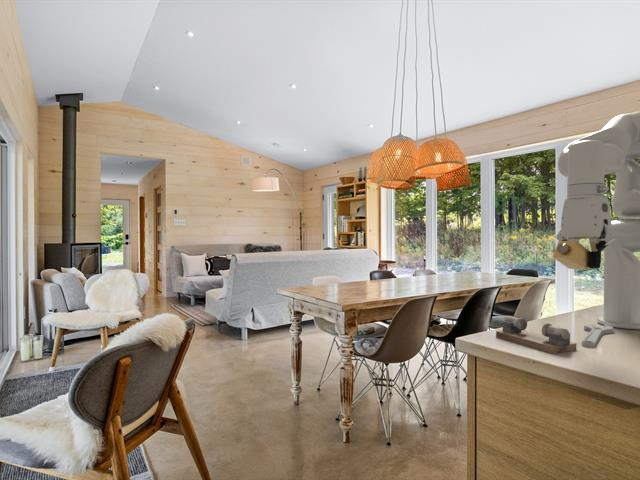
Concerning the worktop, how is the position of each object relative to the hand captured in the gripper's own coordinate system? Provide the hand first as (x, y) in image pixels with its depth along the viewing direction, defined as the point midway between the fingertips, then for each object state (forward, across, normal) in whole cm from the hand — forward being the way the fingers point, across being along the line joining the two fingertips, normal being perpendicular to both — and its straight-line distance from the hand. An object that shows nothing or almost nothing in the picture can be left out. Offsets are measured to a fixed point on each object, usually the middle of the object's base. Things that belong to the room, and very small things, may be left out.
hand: (583, 266), depth 99 cm
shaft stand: (+19, +5, +10) cm, 22 cm away
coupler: (-1, 0, +1) cm, 2 cm away
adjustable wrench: (+20, +5, -10) cm, 23 cm away
